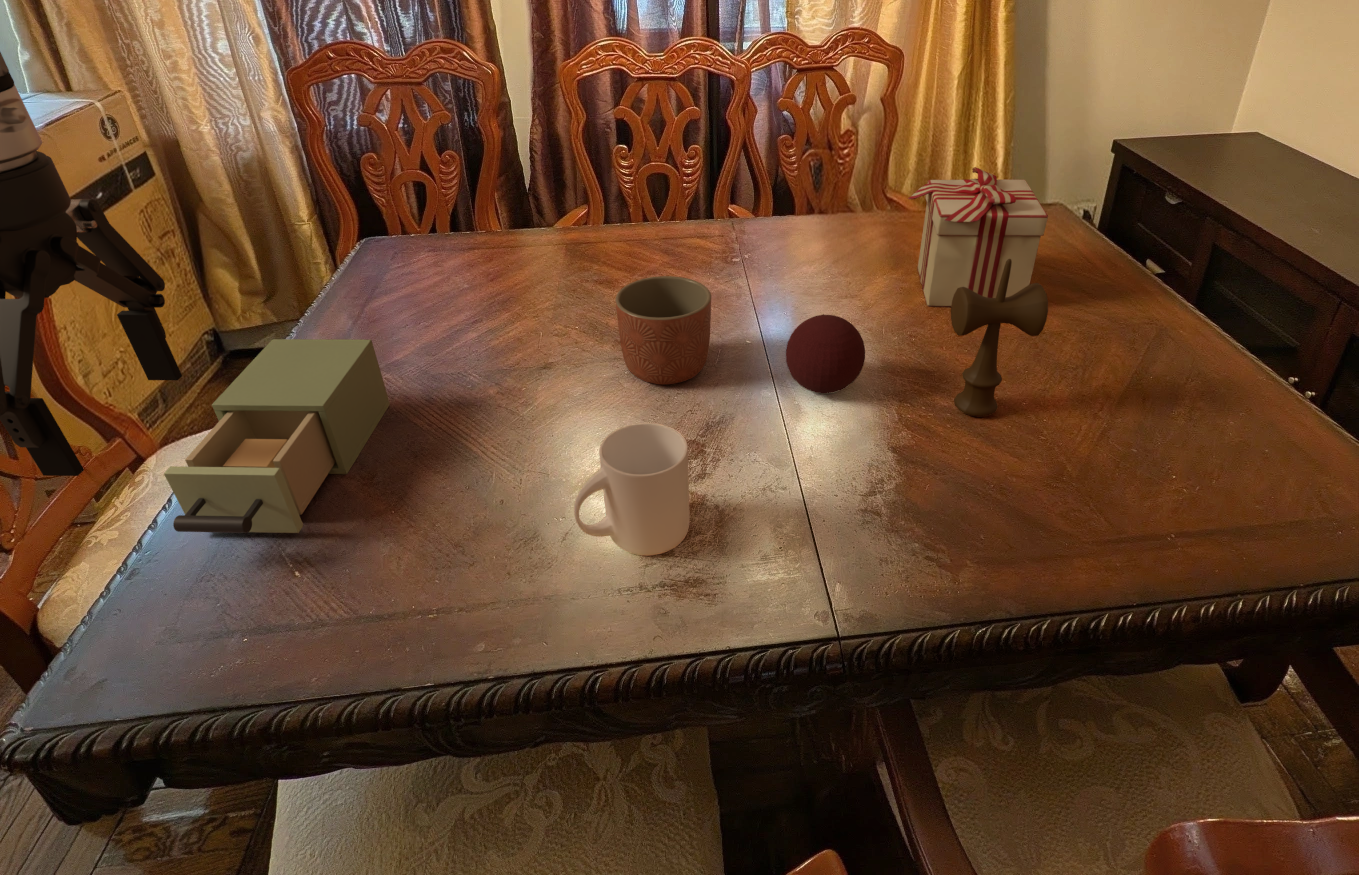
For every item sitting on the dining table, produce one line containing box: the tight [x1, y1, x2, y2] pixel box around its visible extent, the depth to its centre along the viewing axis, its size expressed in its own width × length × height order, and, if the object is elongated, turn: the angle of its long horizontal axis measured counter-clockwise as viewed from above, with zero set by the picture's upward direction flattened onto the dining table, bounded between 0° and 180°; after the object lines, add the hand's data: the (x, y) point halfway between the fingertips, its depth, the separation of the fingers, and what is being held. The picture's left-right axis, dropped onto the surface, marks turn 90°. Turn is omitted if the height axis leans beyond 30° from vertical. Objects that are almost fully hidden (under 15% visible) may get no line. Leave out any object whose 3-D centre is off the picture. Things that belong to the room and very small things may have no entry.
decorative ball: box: [785, 314, 866, 395], centre depth 102 cm, size 10×10×10 cm
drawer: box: [163, 411, 336, 534], centre depth 85 cm, size 18×11×8 cm, turn 177°
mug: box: [573, 422, 691, 556], centre depth 80 cm, size 9×12×11 cm
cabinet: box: [211, 338, 391, 475], centre depth 96 cm, size 15×13×10 cm
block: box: [223, 439, 288, 468], centre depth 87 cm, size 5×5×5 cm
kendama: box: [950, 259, 1049, 418], centre depth 94 cm, size 6×10×20 cm, turn 90°
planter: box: [614, 275, 712, 385], centre depth 106 cm, size 12×12×11 cm
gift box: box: [907, 166, 1049, 308], centre depth 122 cm, size 17×18×17 cm
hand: (119, 422), depth 66 cm, fingers open, 13 cm apart
